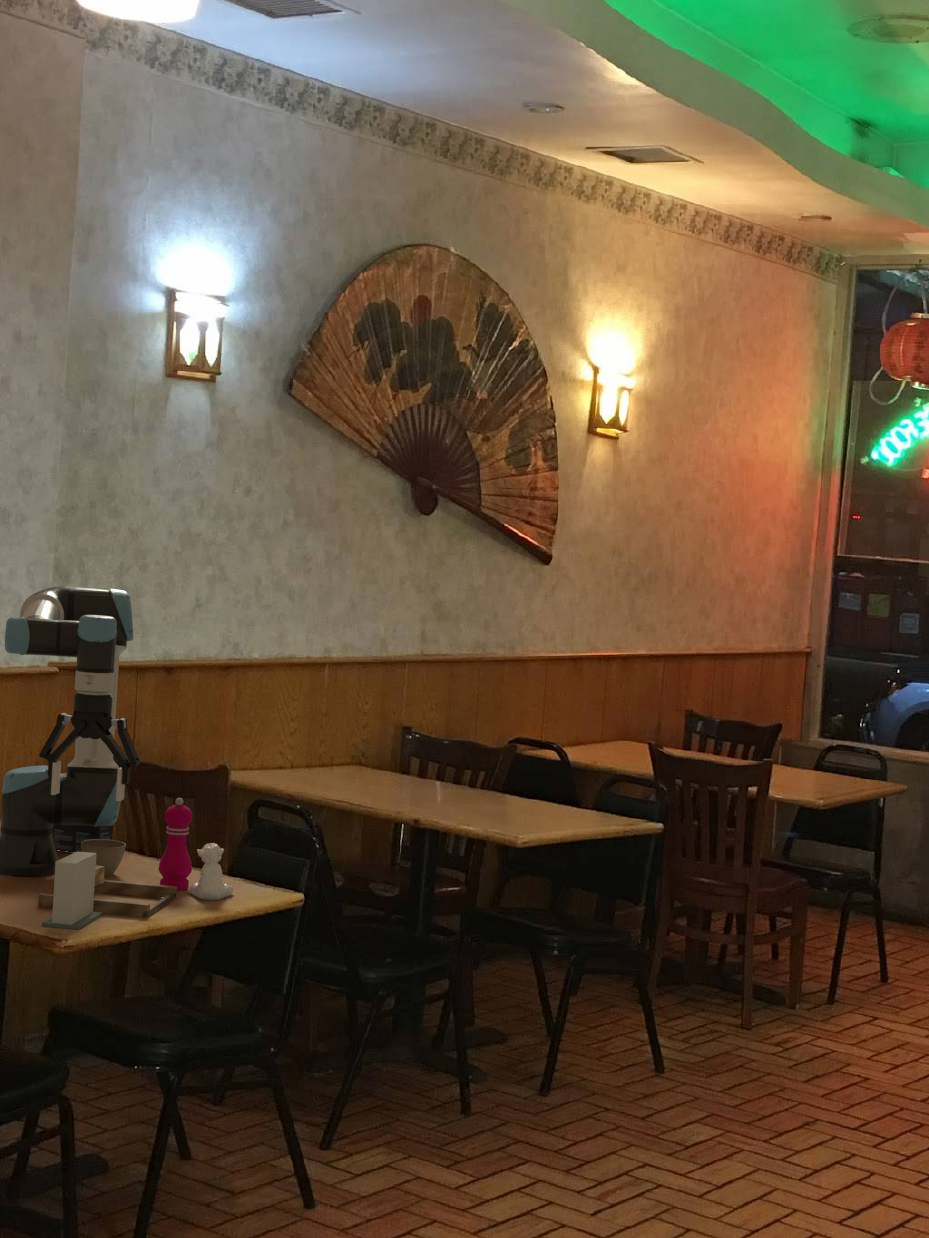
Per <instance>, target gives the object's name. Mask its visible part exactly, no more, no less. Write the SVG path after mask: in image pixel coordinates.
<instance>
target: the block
mask: <svg viewBox="0 0 929 1238" xmlns="http://www.w3.org/2000/svg"><path fill="white" fill-rule="evenodd" d="M95 870H96V853H89V852H78V851H77V852H75V853H70V854H69V855H67V856H65V857H63V858H59V860H58V861H56V863H55V873H54V881H53V882H54V883H53V884H54V885H53V893H54V897H53V908H52V916H51V918H52V923H58V924H68V925H72V924H74V923H76V922H77V921H79V920H81V919H82V918H84V917H86V916H87V915H89V914H91V913H93V903H94V897H95V892H94V886H95Z"/></svg>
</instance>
